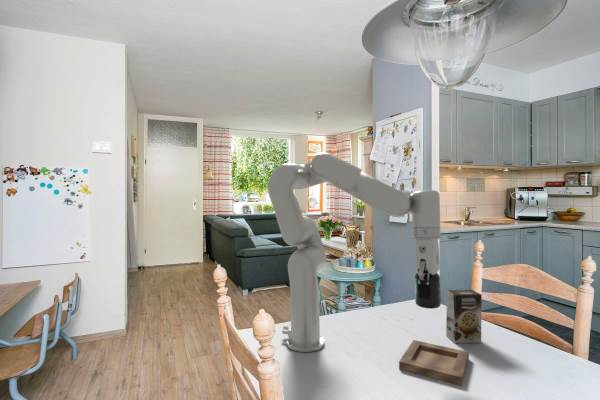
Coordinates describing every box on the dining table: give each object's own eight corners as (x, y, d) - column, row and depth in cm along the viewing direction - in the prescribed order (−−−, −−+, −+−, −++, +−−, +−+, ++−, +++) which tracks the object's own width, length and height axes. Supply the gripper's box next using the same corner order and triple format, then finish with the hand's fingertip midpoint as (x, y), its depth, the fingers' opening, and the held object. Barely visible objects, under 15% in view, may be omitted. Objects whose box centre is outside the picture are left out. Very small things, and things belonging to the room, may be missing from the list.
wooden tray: (399, 369, 95) (399, 361, 95) (413, 346, 109) (413, 339, 109) (461, 385, 87) (461, 377, 87) (468, 359, 100) (468, 351, 100)
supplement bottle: (412, 306, 97) (411, 264, 97) (419, 299, 102) (418, 260, 102) (437, 310, 93) (436, 267, 93) (443, 303, 98) (442, 262, 98)
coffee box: (455, 344, 110) (454, 295, 110) (445, 335, 117) (445, 289, 116) (482, 343, 110) (482, 294, 110) (471, 335, 117) (471, 288, 116)
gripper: (433, 237, 88) (435, 305, 88) (445, 230, 103) (446, 288, 103) (404, 236, 92) (406, 301, 92) (420, 229, 107) (421, 285, 107)
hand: (427, 294), depth 98 cm, fingers closed on supplement bottle, 6 cm apart
